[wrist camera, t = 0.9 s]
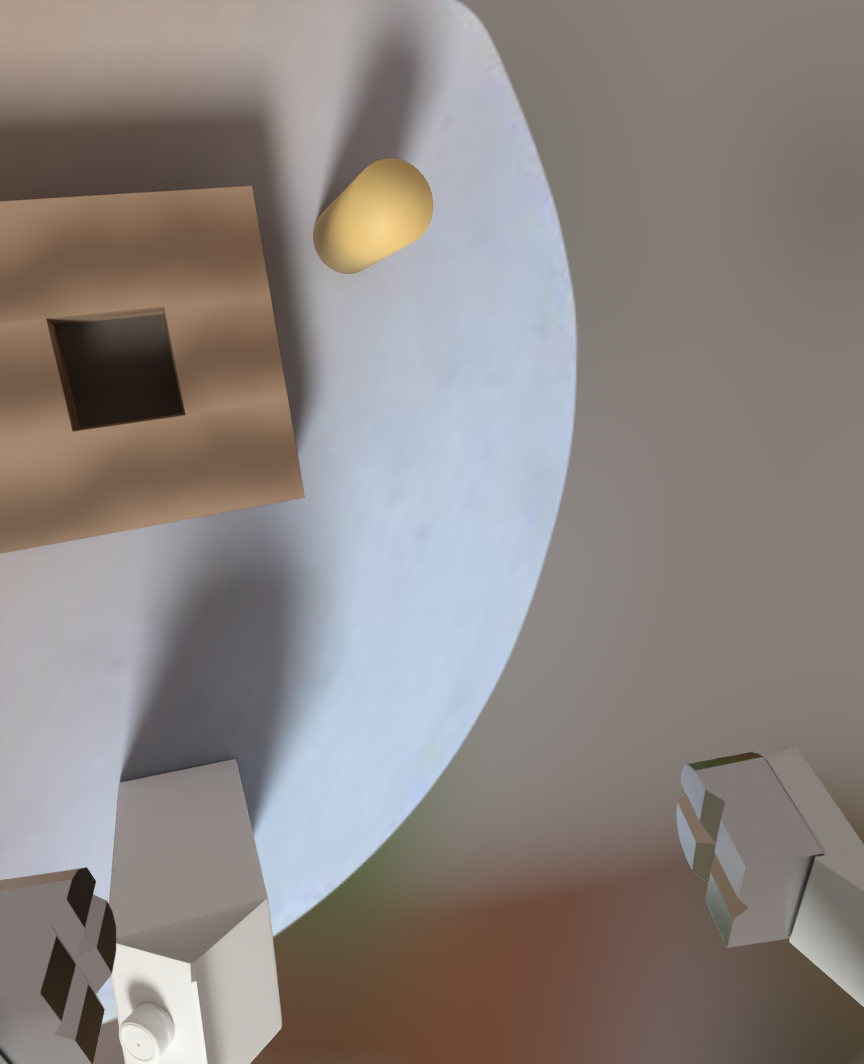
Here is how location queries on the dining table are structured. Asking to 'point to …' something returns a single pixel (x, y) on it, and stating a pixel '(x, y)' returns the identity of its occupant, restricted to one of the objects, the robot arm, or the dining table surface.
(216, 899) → the milk carton
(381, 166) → the pin
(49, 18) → the dining table surface
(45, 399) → the bore block
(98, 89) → the dining table surface
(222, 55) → the dining table surface
